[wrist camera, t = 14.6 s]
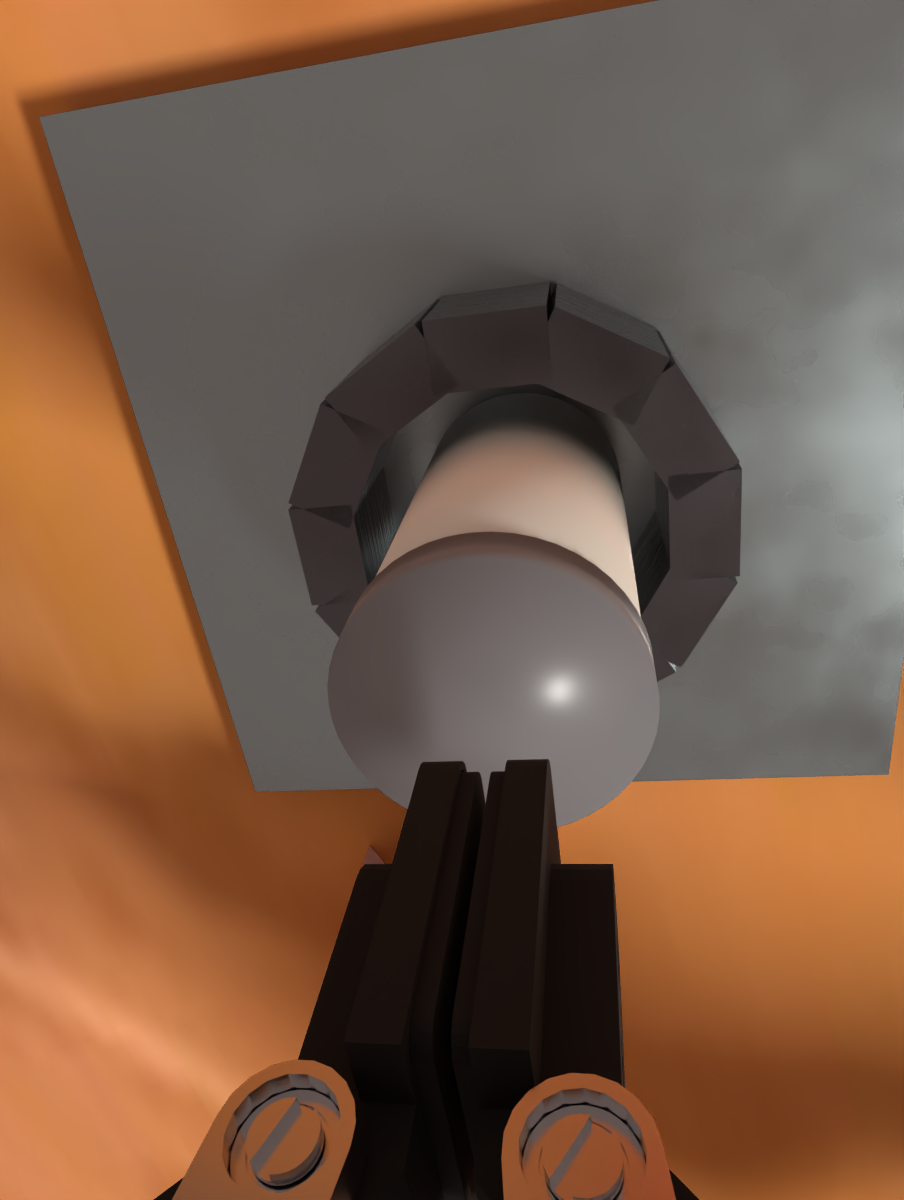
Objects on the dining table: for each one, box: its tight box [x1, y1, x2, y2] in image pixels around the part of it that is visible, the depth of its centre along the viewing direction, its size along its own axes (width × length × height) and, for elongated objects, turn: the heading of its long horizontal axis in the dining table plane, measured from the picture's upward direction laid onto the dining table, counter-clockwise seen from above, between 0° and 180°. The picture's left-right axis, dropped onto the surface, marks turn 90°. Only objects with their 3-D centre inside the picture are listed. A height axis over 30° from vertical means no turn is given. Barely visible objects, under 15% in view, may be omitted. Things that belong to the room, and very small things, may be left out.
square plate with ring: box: [39, 0, 904, 792], centre depth 21 cm, size 20×20×5 cm
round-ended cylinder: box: [327, 393, 660, 827], centre depth 17 cm, size 5×5×10 cm
